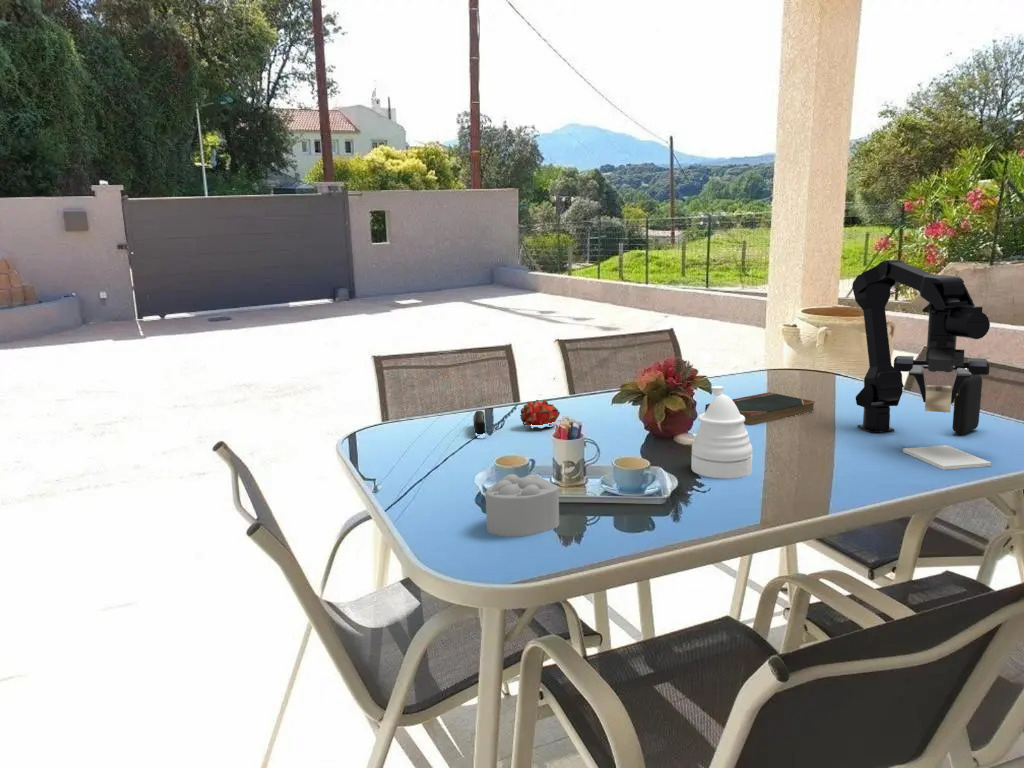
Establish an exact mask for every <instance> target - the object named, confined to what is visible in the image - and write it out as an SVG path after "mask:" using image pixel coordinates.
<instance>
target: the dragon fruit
mask: <svg viewBox="0 0 1024 768" xmlns="http://www.w3.org/2000/svg"><path fill="white" fill-rule="evenodd" d="M560 414H561V412H560V411H559V409H558V408H557V407H555V406H554V404H551V403H549V402H548V401H547V399H544V400H543V401H540V400H539V399H536V400H534V401H533V402H532V401H527V402H526V404H524V405H523V407H522V408H521V409H520V415H519V416H520V420H521V422H522V425H523V426H525V425H529V426H530V425H531V424H532V425H543V424H548V423H552V422H554V423H555V422H556V421H557V419H558V418H559V417H560ZM552 424H553V423H552Z"/></svg>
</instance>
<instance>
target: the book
mask: <svg viewBox="0 0 1024 768" xmlns="http://www.w3.org/2000/svg"><path fill="white" fill-rule="evenodd" d="M731 399H732V400H733V402H734V403H735V405H736V406H737V408H738V410H739V412H740V414H741V415H743V416H744V417H745V421H744V425H749V426H756V425H760V424H765V423H769V422H773V421H779V420H783V419H782V418H784V419H786V418H785V417H789V418H791V417H790V416H794V417H796V416H795V415H798V416H800V415H799V414H803V415H805V414H804V413H807V412H812V411H814V404H815V403H816V401H814V400H809V399H805V398H799V397H795V396H790V395H789V396H788V395H785V394H779V393H775V392H763V393H759V394H758V393H757V394H752V395H748V396H744V397H739V398H737V397H736V398H731ZM710 404H711V402H710V403H707V404H705V407H704V413H705V412H706V410H707V408H708V407H709V405H710ZM778 419H779V420H778Z"/></svg>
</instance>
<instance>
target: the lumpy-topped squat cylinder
mask: <svg viewBox="0 0 1024 768" xmlns="http://www.w3.org/2000/svg"><path fill="white" fill-rule="evenodd" d="M559 499H560V497H559V486H558V485H557V484H554V483H552V482H551V481H549V480H547V479H545V478H543V477H541V476H539V475H537V474H528V475H525V476H523V477H520V476H518V475H517V474H514V473H509V474H507V475H505V476H503V477H502V478H501V480H499V481H497V482H496V483H495V484H493V485H491V486H489V487H488V488H487V489H486V491H485V511H486V513H485V514H486V515H485V516H486V531H487V532H488V533H489V534H491V535H493V536H500V537H527V536H533V535H538V534H541V533H545V532H548V531H551V530H554V529H557V528H558V527H559V526H560V503H559V502H560V501H559Z"/></svg>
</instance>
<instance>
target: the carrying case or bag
mask: <svg viewBox="0 0 1024 768" xmlns="http://www.w3.org/2000/svg"><path fill="white" fill-rule="evenodd" d="M971 375H972V376H971V378H966V379H965V380H964V381H963V383H962V385H961V386H960V388H959V390H958V392H957V395H956V397H955V399H954V401H953V416H952V430H953V431H954V432H955V434H957V435H958V436H961V434H962V435H964V434H966V432H967V433H969V431H970V432H972V431H974V430H975V429H977V428H978V427H979V422H980V413H981V412H980V410H981V401H982V390H983V377H982V375H977V374H972V373H971ZM973 429H974V430H973ZM971 430H972V431H971Z"/></svg>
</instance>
